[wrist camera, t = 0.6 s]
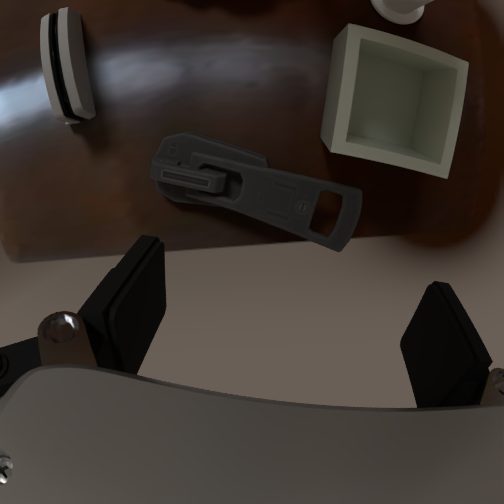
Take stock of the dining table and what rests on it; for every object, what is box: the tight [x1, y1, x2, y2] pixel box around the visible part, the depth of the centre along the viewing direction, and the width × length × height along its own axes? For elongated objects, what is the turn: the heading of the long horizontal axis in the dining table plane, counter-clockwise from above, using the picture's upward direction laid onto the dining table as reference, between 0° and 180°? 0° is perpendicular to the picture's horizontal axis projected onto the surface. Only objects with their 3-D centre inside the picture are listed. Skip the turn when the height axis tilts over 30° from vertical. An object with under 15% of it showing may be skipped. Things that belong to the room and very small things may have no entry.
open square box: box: [320, 23, 469, 179], centre depth 29 cm, size 12×12×10 cm
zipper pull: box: [150, 131, 363, 252], centre depth 37 cm, size 9×7×25 cm
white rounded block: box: [40, 7, 96, 125], centre depth 30 cm, size 17×5×10 cm, turn 9°
